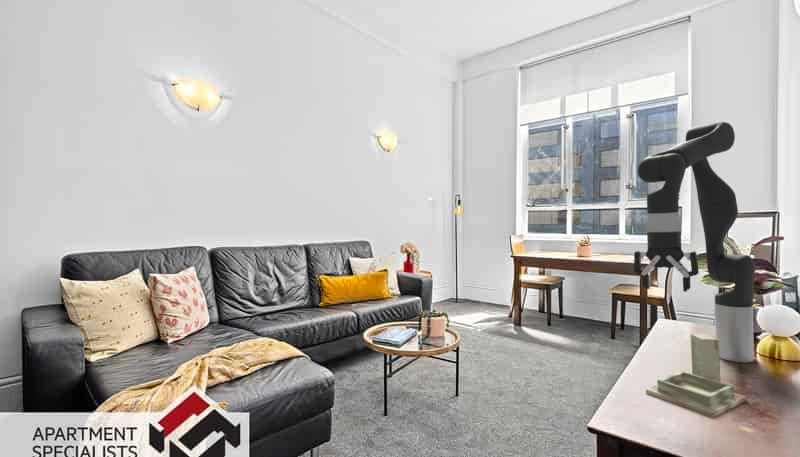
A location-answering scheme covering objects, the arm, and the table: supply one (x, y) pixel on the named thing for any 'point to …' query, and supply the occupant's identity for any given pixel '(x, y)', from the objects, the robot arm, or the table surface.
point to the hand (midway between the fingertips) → (665, 289)
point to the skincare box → (705, 356)
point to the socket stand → (697, 393)
